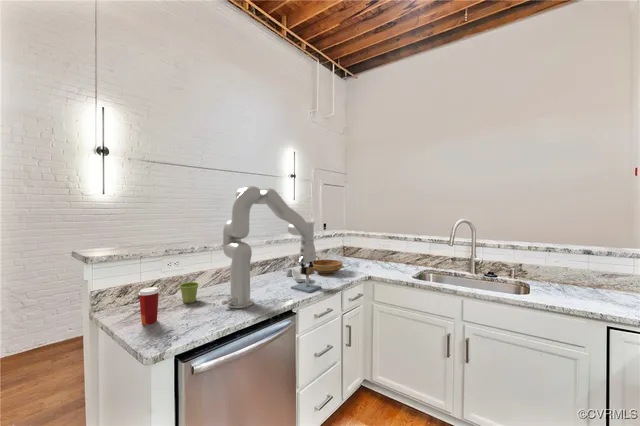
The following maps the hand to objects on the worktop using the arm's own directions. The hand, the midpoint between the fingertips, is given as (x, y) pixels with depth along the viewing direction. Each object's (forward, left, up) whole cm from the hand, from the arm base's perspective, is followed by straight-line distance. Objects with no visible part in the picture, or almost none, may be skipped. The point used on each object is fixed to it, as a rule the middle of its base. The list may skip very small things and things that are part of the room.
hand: (307, 272), depth 169 cm
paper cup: (-79, +22, -10) cm, 83 cm away
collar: (0, 0, -1) cm, 1 cm away
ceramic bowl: (+38, +13, -10) cm, 41 cm away
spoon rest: (+11, +18, -10) cm, 24 cm away
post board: (-1, 0, -10) cm, 10 cm away
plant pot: (-55, +34, -10) cm, 66 cm away
